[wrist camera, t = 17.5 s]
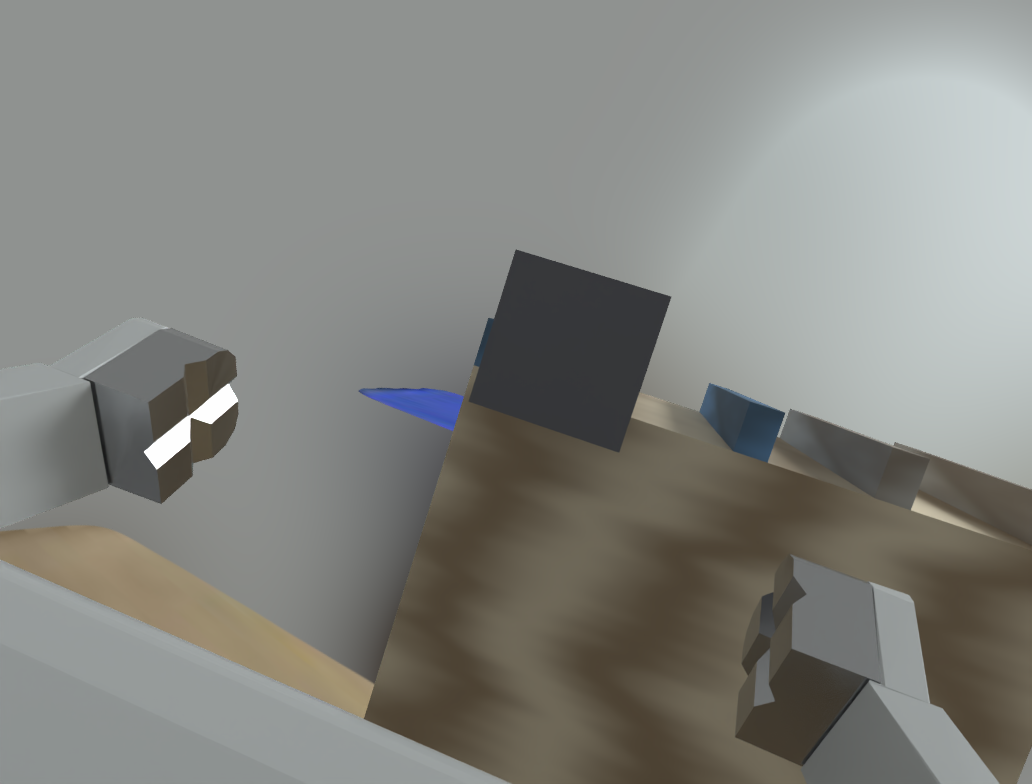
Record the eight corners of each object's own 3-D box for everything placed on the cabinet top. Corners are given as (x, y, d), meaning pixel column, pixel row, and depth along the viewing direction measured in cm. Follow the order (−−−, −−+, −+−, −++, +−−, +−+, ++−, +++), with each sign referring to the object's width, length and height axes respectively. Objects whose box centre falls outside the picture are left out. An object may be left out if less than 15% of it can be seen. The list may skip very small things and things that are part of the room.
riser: (724, 950, 39) (912, 447, 36) (774, 1376, 23) (1123, 521, 20) (404, 810, 42) (557, 334, 39) (245, 1100, 25) (488, 317, 23)
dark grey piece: (638, 395, 35) (659, 332, 34) (619, 452, 14) (671, 296, 14) (575, 375, 35) (596, 313, 35) (468, 401, 14) (516, 249, 14)
